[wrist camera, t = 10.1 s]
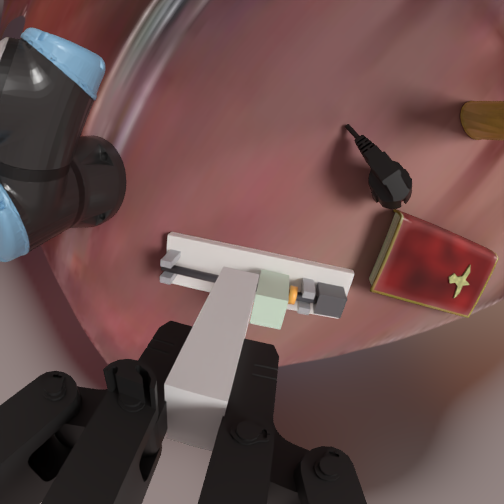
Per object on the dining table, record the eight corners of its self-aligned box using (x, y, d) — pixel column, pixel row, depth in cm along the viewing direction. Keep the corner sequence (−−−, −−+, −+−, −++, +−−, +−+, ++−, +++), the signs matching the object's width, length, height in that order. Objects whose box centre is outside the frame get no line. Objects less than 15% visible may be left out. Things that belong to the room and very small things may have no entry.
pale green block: (255, 295, 43) (249, 323, 37) (261, 269, 42) (255, 294, 35) (282, 301, 43) (280, 329, 37) (289, 275, 41) (288, 301, 35)
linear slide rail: (168, 277, 47) (155, 293, 42) (171, 231, 44) (156, 244, 39) (337, 313, 46) (341, 333, 41) (352, 269, 43) (359, 287, 38)
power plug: (362, 111, 33) (421, 178, 29) (370, 140, 40) (419, 201, 35) (329, 134, 35) (384, 204, 30) (341, 159, 42) (387, 222, 37)
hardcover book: (393, 207, 39) (403, 214, 35) (487, 247, 38) (500, 257, 34) (364, 278, 43) (370, 292, 40) (459, 306, 43) (468, 318, 39)
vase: (471, 93, 30) (529, 86, 16) (493, 122, 30) (552, 127, 17) (453, 118, 32) (512, 117, 19) (476, 147, 33) (536, 159, 19)
